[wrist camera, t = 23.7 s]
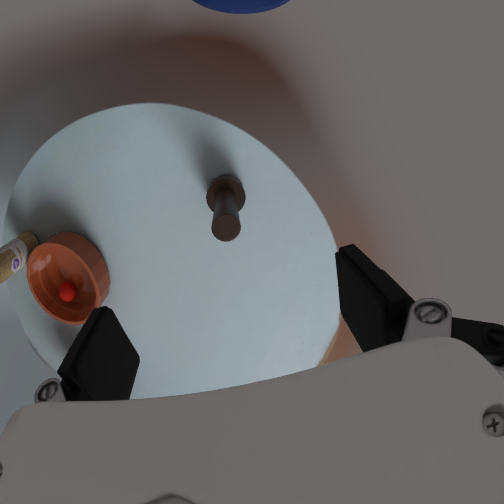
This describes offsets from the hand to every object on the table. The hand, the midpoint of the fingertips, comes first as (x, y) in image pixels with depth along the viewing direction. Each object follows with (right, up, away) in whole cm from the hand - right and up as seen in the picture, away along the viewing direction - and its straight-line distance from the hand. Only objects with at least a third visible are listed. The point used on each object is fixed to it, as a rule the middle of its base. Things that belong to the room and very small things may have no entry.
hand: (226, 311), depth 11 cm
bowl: (-26, -1, +26) cm, 37 cm away
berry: (-27, -4, +25) cm, 37 cm away
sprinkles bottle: (-35, +4, +24) cm, 42 cm away
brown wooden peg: (-2, +10, +24) cm, 26 cm away
